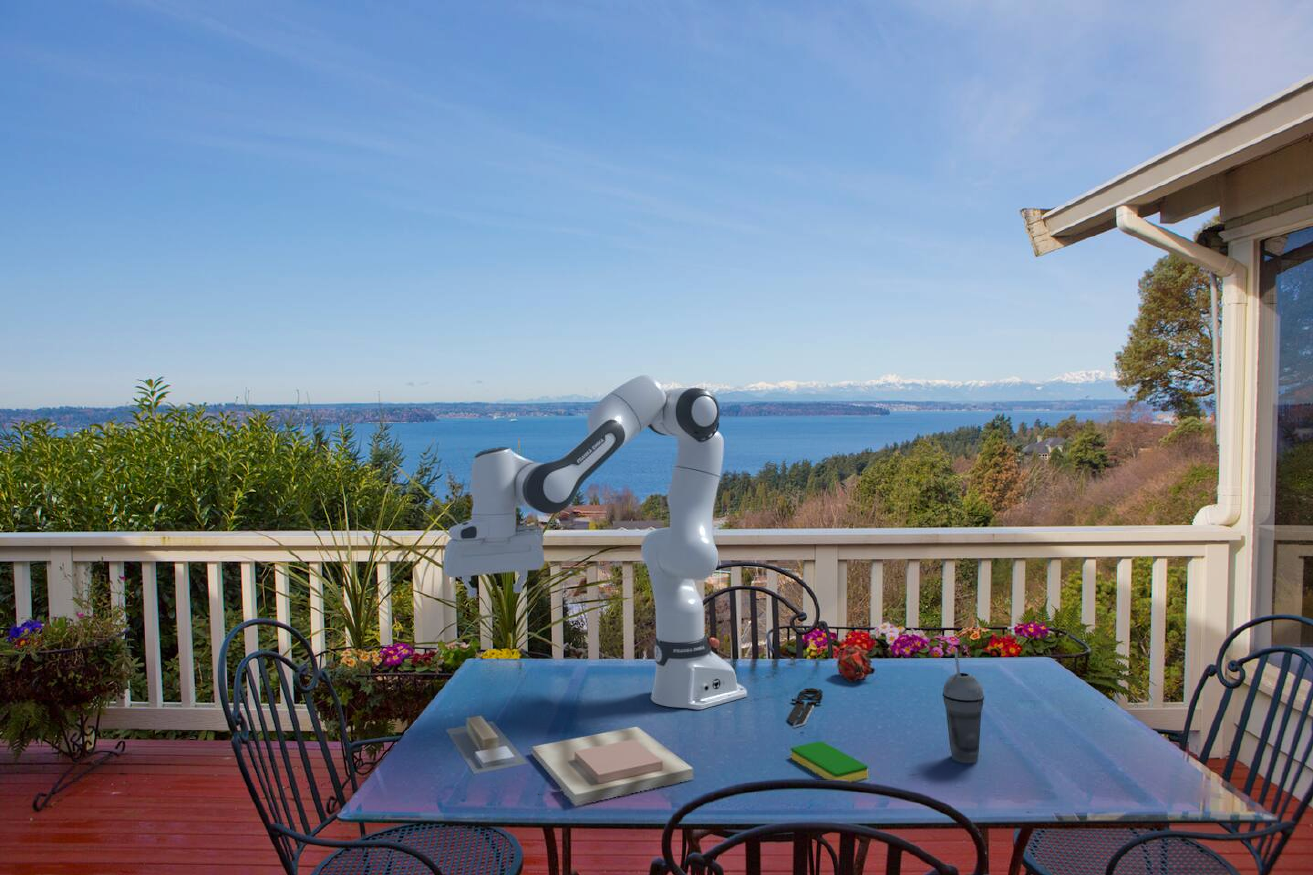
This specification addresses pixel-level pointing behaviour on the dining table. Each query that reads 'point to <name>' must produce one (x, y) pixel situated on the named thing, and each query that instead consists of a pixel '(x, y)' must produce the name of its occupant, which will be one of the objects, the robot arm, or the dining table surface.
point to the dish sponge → (829, 762)
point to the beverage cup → (963, 714)
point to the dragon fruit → (854, 663)
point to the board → (587, 789)
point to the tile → (618, 761)
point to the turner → (487, 744)
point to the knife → (808, 707)
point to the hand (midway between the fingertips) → (495, 595)
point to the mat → (469, 749)
